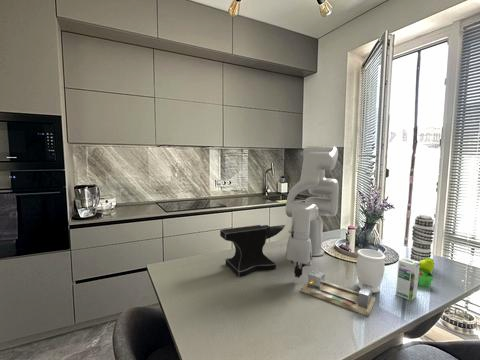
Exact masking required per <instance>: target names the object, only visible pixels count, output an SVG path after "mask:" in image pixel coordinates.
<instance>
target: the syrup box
mask: <svg viewBox="0 0 480 360" xmlns="http://www.w3.org/2000/svg"><path fill="white" fill-rule="evenodd" d="M419 267H420V262H417V261H414V260H411V259H410V258H407V257H402V258H400V259H399V260H398V264H397V278H396V288H395V295H396V296H398V297H401V298H404V299H406V300H408V301H410V302H412V301H413V300H414V299H415V298H416V297H417V296H418V295H417V293H418V286H419V285H418V277H419Z"/></svg>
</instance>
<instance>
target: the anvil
mask: <svg viewBox="0 0 480 360" xmlns="http://www.w3.org/2000/svg"><path fill="white" fill-rule="evenodd" d="M285 227H286V224H281V225H271V226H270V225H267V224H264V225H260V224H256V225H250V226H249V225H247V226H241V227H232V228H225V229H220V230H219V236H220V237H221V238H222V239H223V240H224V241H227V242H232V244H233V245H234V249H235V252H234V255H233V256H232V257H230V258H225V265H226V266H227V268H229V269H230V271H231V272H232V273H233V274H234V275H235V276H236V277H237V278H238V279H239V278H245V277H247V276H249V275H251V274H253V273H256V272H270V271H276V270H277V263H276V262H274V261H273V260H271V259H270V258H269V257H268V256H266V255H265V253H264V252H263V251H264V250H263V249H264V246H265V245H266V242H267V240H268V239H271V238H273V237H275V236H277V235H278V234H279V233H281V231H283V230H284V229H285Z"/></svg>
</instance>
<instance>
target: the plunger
mask: <svg viewBox="0 0 480 360" xmlns="http://www.w3.org/2000/svg"><path fill="white" fill-rule="evenodd" d="M307 276H308V277H307V279H308V280H307V282H308V285H310V286H313V287H316V288H319V289H321V288H322V287H323V286H324V281H325V277H326V274H325V272H322V271H319V270H315V269H312V270H311V271H310V272H309V273H308V275H307Z"/></svg>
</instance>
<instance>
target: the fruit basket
mask: <svg viewBox="0 0 480 360" xmlns="http://www.w3.org/2000/svg"><path fill="white" fill-rule="evenodd" d="M419 262H420V267H419V277H418V286H419V287H420V286H421V287H427V288H430V286H431V283H432V282H433V280H434V279H435V276H434V275H433V274H432V272H433V270H434V266H435V262H434V259H432V258H431V257H430V258H426V259H425V260H421V261H419Z"/></svg>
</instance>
